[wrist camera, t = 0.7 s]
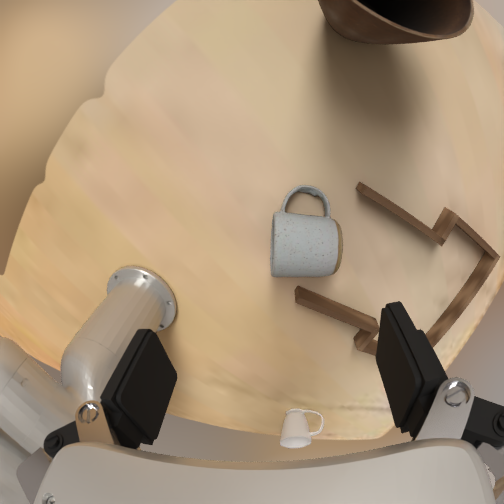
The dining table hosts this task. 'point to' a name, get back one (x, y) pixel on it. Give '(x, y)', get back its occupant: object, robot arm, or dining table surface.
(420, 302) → the dining table surface
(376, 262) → the dining table surface
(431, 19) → the plant pot
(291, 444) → the cup
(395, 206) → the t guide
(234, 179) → the dining table surface
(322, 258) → the ceramic mug
